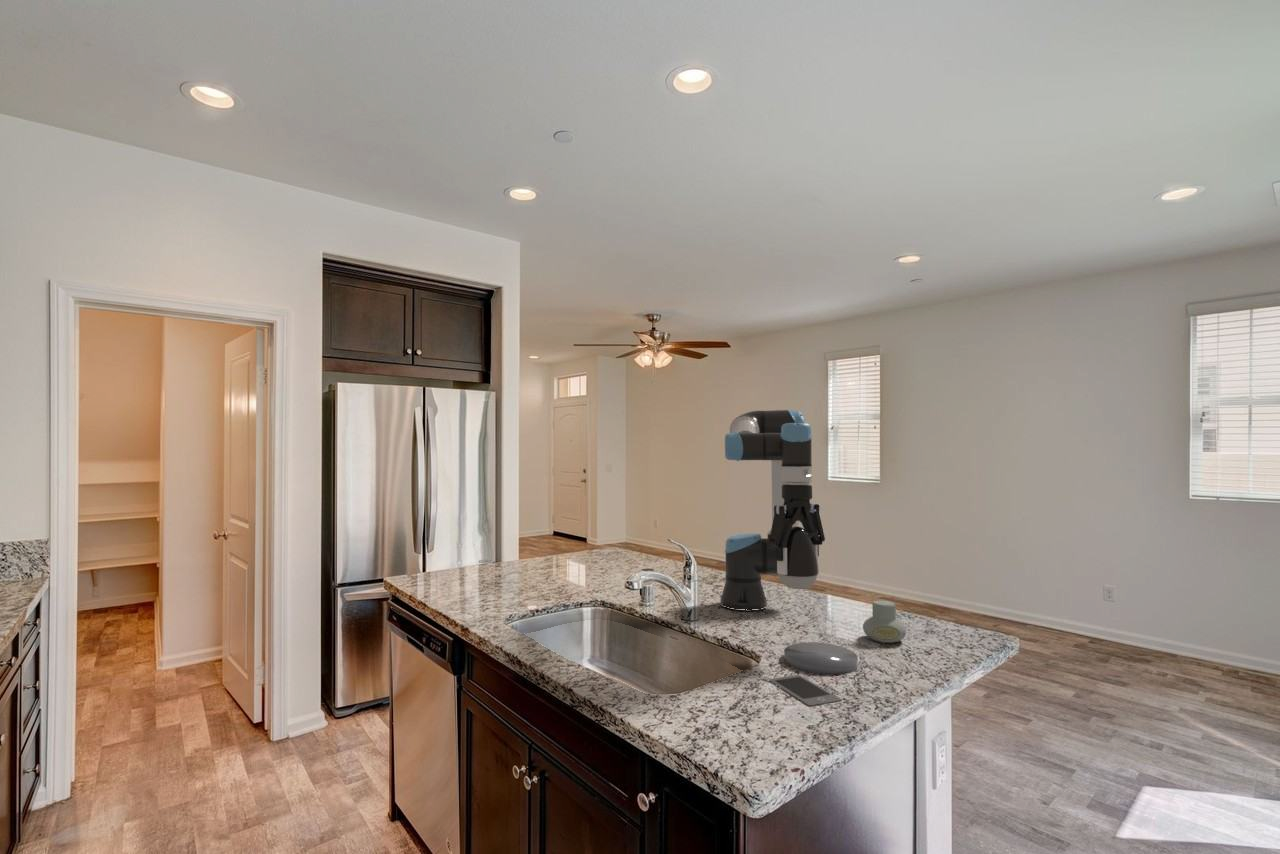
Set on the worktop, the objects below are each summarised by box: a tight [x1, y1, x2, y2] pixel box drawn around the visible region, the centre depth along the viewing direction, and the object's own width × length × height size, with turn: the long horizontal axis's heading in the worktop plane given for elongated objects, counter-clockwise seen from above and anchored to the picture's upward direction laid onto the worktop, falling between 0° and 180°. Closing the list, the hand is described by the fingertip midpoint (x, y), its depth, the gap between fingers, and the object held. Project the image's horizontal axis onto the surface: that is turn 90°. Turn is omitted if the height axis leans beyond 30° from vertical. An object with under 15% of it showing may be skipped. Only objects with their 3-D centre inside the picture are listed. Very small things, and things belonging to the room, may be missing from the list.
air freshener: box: [862, 600, 907, 644], centre depth 165 cm, size 11×8×10 cm
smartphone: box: [768, 674, 842, 708], centre depth 131 cm, size 15×8×1 cm, turn 21°
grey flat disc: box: [783, 641, 858, 675], centre depth 148 cm, size 17×17×2 cm
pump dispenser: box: [777, 526, 819, 590], centre depth 154 cm, size 10×10×15 cm
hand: (797, 572), depth 154 cm, fingers closed on pump dispenser, 10 cm apart
